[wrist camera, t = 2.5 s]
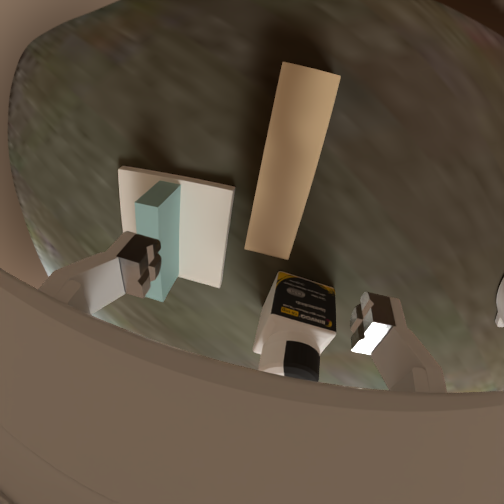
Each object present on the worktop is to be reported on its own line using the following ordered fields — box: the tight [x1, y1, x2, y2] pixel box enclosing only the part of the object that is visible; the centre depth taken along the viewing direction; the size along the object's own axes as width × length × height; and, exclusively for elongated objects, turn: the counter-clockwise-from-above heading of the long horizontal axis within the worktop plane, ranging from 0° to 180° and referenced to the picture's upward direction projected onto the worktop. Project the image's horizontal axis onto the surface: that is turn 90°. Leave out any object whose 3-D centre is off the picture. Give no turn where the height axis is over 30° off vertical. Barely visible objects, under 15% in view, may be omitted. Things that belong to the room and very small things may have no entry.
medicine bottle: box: [253, 271, 336, 382], centre depth 29 cm, size 7×7×12 cm
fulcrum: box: [118, 166, 235, 302], centre depth 29 cm, size 13×13×6 cm
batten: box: [244, 62, 341, 260], centre depth 22 cm, size 4×16×5 cm, turn 170°
